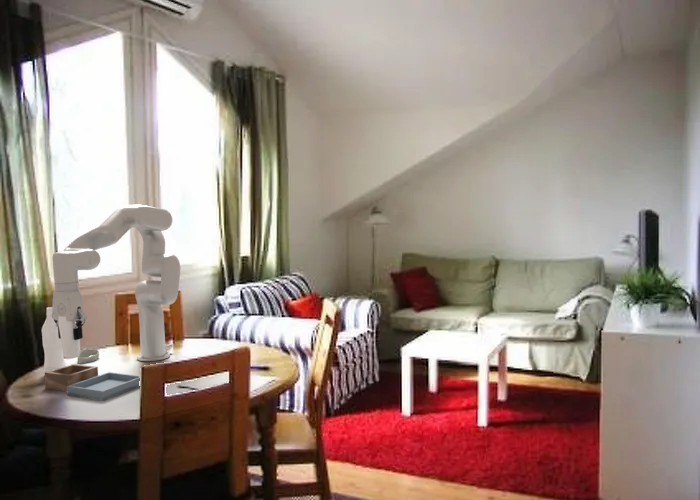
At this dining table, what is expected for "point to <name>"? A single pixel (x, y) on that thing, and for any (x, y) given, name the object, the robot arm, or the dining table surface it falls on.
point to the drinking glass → (68, 338)
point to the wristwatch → (86, 353)
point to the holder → (69, 376)
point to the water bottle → (52, 344)
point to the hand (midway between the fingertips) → (70, 337)
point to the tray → (104, 386)
